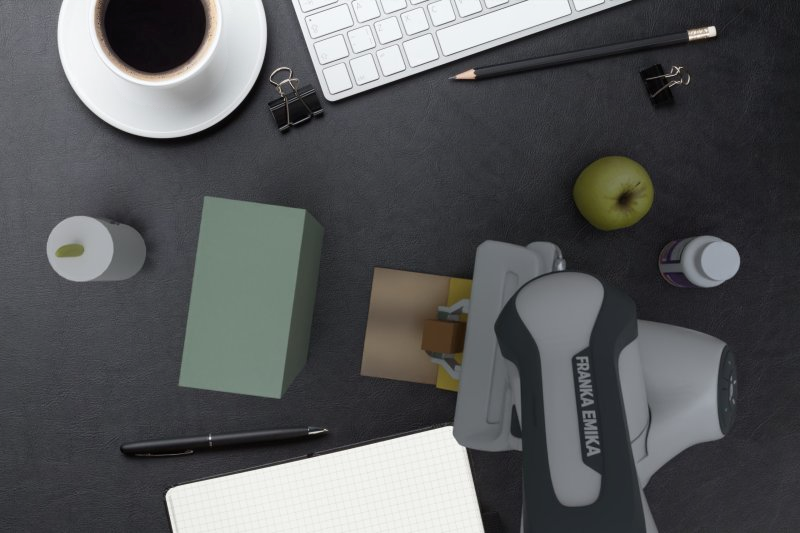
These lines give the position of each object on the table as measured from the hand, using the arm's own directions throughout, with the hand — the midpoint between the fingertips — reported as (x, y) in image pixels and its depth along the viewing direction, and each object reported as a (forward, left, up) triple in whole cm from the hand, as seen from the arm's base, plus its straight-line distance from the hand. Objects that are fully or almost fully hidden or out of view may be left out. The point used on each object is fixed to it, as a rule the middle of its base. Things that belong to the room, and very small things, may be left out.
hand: (437, 334), depth 79 cm
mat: (0, -3, -5) cm, 6 cm away
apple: (+17, -17, -6) cm, 24 cm away
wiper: (0, -3, -4) cm, 5 cm away
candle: (+4, +35, -6) cm, 36 cm away
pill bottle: (+11, -27, -6) cm, 29 cm away
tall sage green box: (+2, +17, -5) cm, 18 cm away
